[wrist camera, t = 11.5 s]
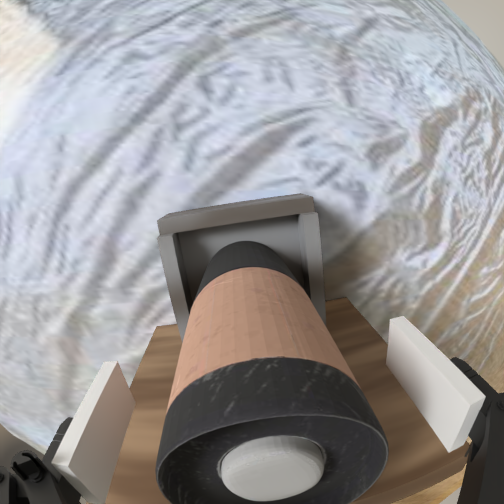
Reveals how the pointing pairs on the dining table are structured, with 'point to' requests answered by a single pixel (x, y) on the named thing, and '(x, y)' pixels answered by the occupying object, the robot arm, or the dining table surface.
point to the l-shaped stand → (333, 316)
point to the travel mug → (264, 396)
